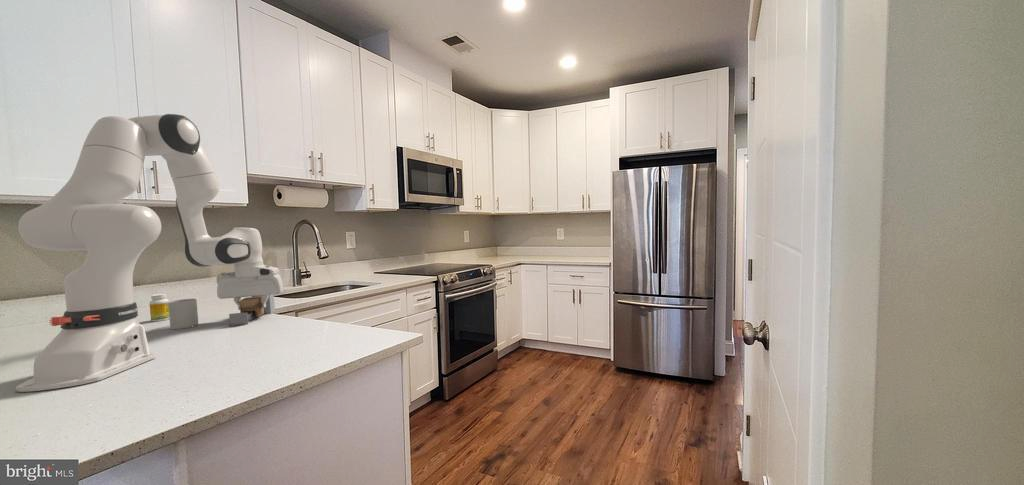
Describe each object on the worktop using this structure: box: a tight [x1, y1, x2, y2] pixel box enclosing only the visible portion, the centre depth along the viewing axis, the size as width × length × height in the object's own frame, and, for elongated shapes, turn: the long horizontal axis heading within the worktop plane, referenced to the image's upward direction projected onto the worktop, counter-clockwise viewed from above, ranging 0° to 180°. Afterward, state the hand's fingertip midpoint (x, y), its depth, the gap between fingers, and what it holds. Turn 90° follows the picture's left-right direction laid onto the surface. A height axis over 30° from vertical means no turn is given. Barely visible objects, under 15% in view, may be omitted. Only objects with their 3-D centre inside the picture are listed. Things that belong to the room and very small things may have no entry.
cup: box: [168, 298, 199, 330], centre depth 128 cm, size 7×10×9 cm
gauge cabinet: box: [250, 295, 276, 315], centre depth 144 cm, size 4×6×8 cm
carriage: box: [239, 296, 265, 319], centre depth 137 cm, size 6×5×7 cm
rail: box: [228, 311, 256, 327], centre depth 133 cm, size 16×5×4 cm, turn 16°
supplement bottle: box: [149, 293, 170, 323], centre depth 139 cm, size 5×5×10 cm
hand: (252, 308), depth 137 cm, fingers closed on carriage, 5 cm apart
